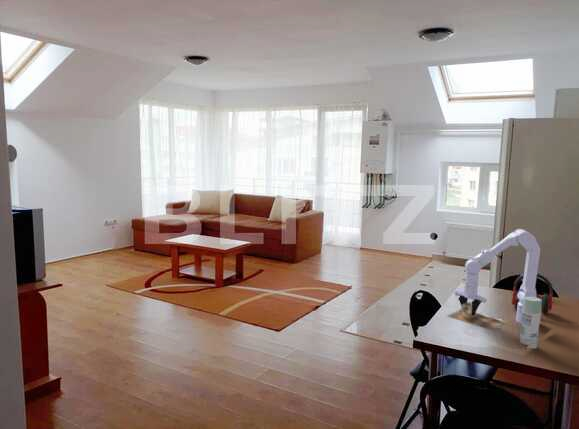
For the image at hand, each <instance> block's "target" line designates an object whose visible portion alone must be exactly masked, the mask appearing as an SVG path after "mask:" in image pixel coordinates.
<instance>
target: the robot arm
mask: <svg viewBox="0 0 579 429" xmlns="http://www.w3.org/2000/svg"><path fill="white" fill-rule="evenodd" d="M519 244H520V245H521V246H522V247H523V248H524V249H525V250H526V257H525V263H524V271H523V272H524V273H523V274H524V277H523V279H522V284H521V285H520V288H519V289H518V290H519V292H518V293H517V298H518V300H519V302H518V305H517V309H516V316H515V321H516V322H517V323H519V324H521V321H522V310H523V299H524V297H526V296H531V297H537V289H536V283H537V278H538V277H537V273H538V269H539V262H540V257H541V256H540V255H541V247H540V245H539V243H538V241H537V238H536V236H534V235H533V234H532V233H531V232H528V231H526V230H525V229H524V228H517V229H515V230H514V231H513V232H511V233H509V234H508V235H507V236H505V238H503V239H502V240H501V241H499V242H498V243H496V244H495V245H494V246H492V248H490V249H484V250H483V249H482V250H481V251H480V253H478V254H477V255H476V256H472V258H471V259H468V260H467V261H466V262H465V264H464V268H465V269H466V270H465V274H464V275H465V277H464V285H463V286H464V289H463V291H461V290H455V291H454V296H459V297H458V301H459V303H460V305H461V308H462V304H464V303H467V302H468V299H470V300H471V302H472V315H475V314H476V313H477V310H478V308H479V306H480V304H481V303H484V304H486V303H487V297H485V296H482V295H479V294H478V288H479V287H478V286H479V273H480V272H481V269H482V268H483V267H485V266H487V265H488V264H490V263H491V262H492V261H494V260H495V256H496V255H498V254H500V253H502V252H503V251H504V250H506V249H507V248H509V247H510V246H511V247H512V246H513V247H515V246H517V247H519V246H520V245H519ZM541 315H542V312H541V313H540V320H541V317H542V316H541ZM540 324H541V321H540V322H539V325H540Z"/></svg>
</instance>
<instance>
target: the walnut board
mask: <svg viewBox="0 0 579 429" xmlns="http://www.w3.org/2000/svg"><path fill="white" fill-rule="evenodd" d="M446 317H448V318H451V319H455V320H459V321H462V322H465V323H467V324H471V325H475V326H478V327H482V328H484V329H488V330H491V331H495V330H496V329H498V328H500V327H502V326H503V325H505V324H507V323H509V321H508V320H504V319H501V318H497V317H494V316H490V315H486V314H482V313H479V312H476V316H475V317H473V318H471V319H468V318H465V317H462V308H459V310H456V311H454V312H452V313H450V314H448V315H446Z"/></svg>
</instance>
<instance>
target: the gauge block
mask: <svg viewBox="0 0 579 429" xmlns="http://www.w3.org/2000/svg"><path fill="white" fill-rule="evenodd" d="M461 309H462V317H465V318H468V319H471V318H473V317H475V316H476V314H475V315H472V301H467V303H464V304H462V307H461Z"/></svg>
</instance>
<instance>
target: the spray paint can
mask: <svg viewBox="0 0 579 429" xmlns="http://www.w3.org/2000/svg"><path fill="white" fill-rule="evenodd" d="M541 306H542V298H539V297H537V296H536V297H531V296H526V297H524V299H523V310H522V321H521V323H520V332H519V333H520V336H519V342H520V343H521V344H522V345H525V346H526V347H525V349H526V350H527V349H528V350H536V349H537V347H538V340H539V339H538V338H539V332H540V331H539V330H540V324H539V322H540V323H541V319H540V313H541V314H542V310H541Z"/></svg>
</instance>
